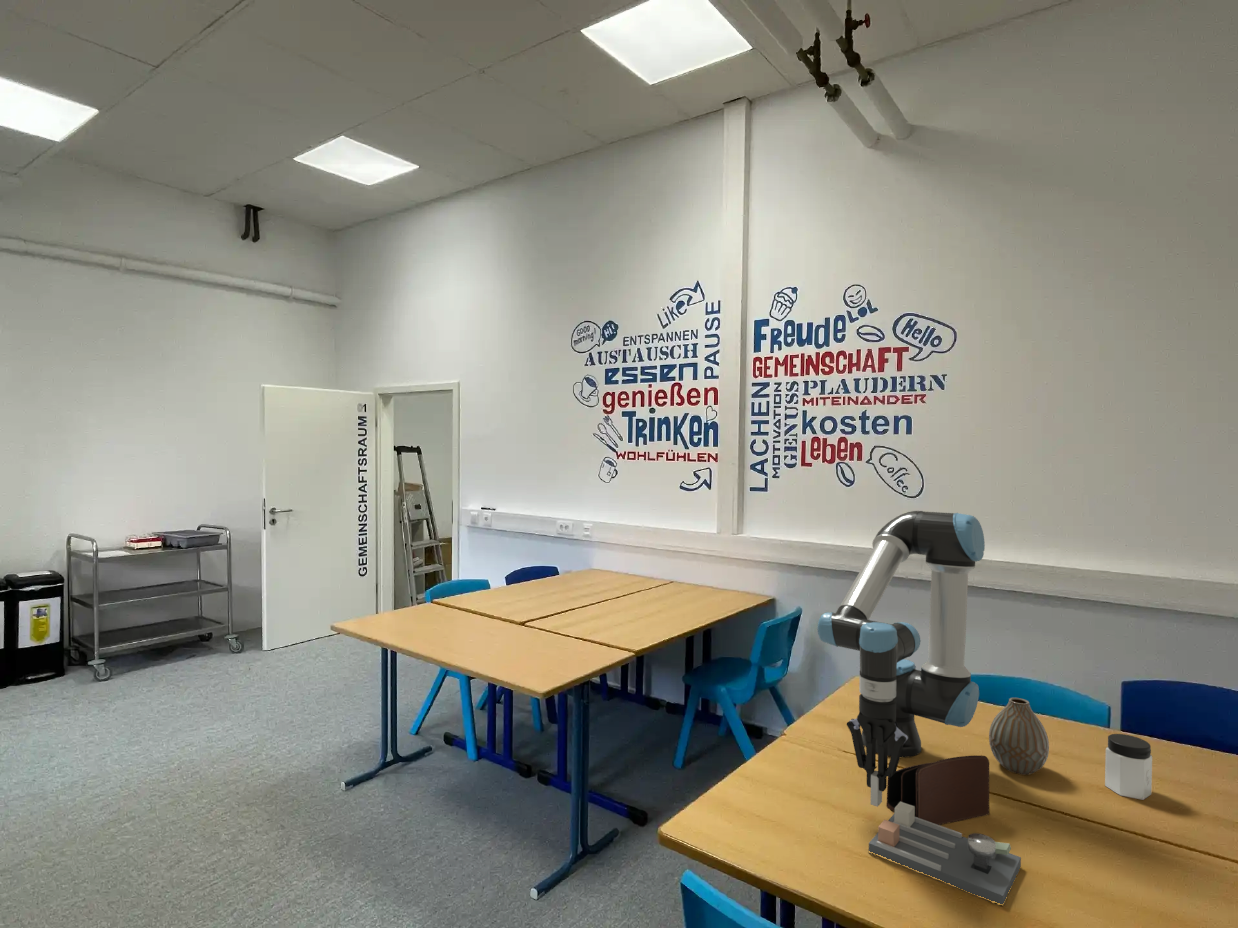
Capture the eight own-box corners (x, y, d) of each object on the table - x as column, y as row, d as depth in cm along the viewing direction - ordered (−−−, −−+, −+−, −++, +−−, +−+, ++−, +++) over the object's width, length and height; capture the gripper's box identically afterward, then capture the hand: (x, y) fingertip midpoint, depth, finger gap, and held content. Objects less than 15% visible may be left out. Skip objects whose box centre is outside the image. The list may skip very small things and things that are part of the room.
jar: (1141, 803, 154) (1142, 751, 154) (1100, 788, 161) (1101, 738, 161) (1156, 792, 159) (1157, 742, 159) (1116, 778, 166) (1117, 730, 165)
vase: (1038, 786, 162) (1039, 715, 161) (980, 767, 171) (981, 699, 171) (1055, 769, 170) (1057, 701, 170) (999, 751, 180) (1000, 687, 180)
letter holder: (990, 815, 149) (991, 753, 149) (917, 831, 143) (918, 766, 143) (955, 793, 159) (956, 734, 158) (885, 807, 153) (886, 746, 152)
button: (964, 864, 127) (965, 840, 127) (971, 853, 131) (971, 830, 131) (991, 874, 124) (992, 850, 124) (997, 863, 128) (998, 839, 128)
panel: (868, 852, 135) (868, 830, 135) (894, 821, 147) (895, 801, 146) (1002, 906, 119) (1003, 881, 119) (1020, 867, 131) (1021, 844, 131)
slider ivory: (894, 822, 142) (894, 807, 142) (900, 815, 145) (900, 801, 144) (909, 828, 140) (909, 812, 140) (914, 821, 143) (914, 806, 143)
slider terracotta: (878, 842, 135) (878, 826, 135) (884, 834, 138) (884, 819, 138) (893, 848, 133) (893, 832, 133) (899, 840, 136) (899, 824, 136)
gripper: (841, 693, 147) (840, 799, 148) (902, 708, 138) (901, 821, 139) (854, 684, 153) (853, 786, 153) (914, 698, 144) (913, 806, 145)
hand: (876, 802), depth 146 cm, fingers closed
